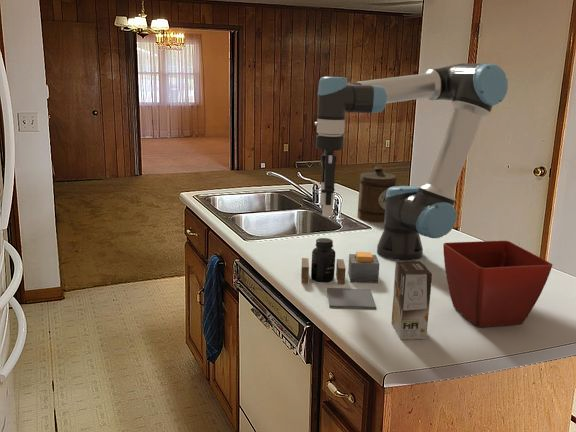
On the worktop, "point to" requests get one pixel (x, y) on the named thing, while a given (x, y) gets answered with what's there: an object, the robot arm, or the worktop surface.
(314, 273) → the supplement bottle
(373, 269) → the plunger housing
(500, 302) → the plant pot
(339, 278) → the block
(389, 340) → the worktop surface
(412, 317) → the coffee box
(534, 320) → the worktop surface
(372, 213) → the wooden container
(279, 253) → the worktop surface
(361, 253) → the plunger
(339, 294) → the mat
